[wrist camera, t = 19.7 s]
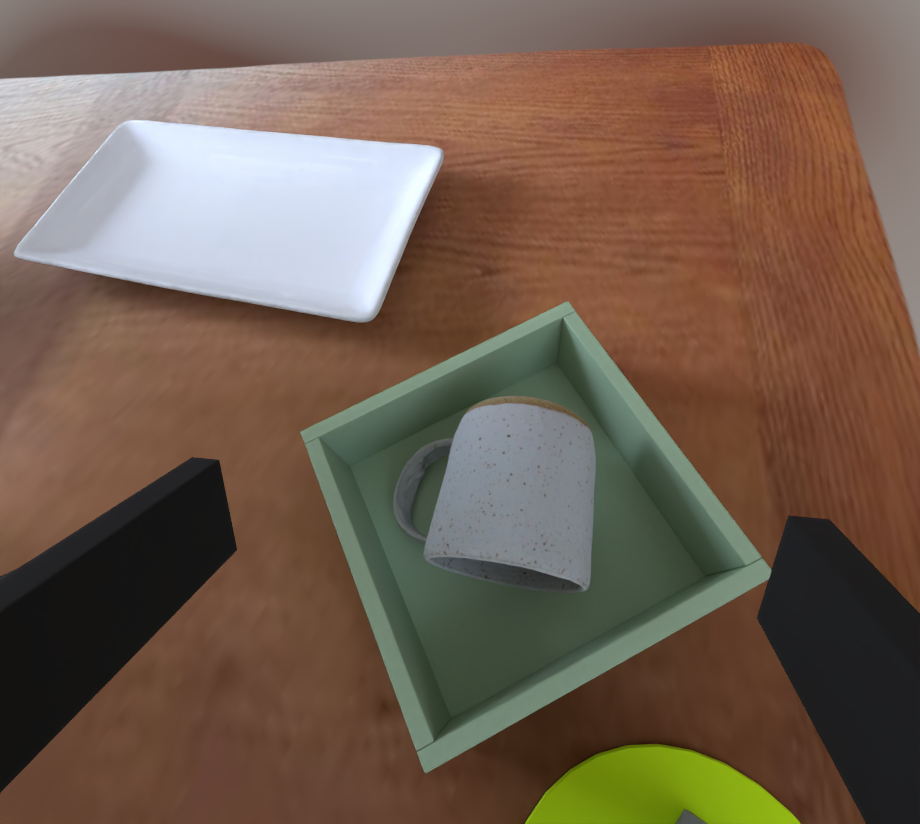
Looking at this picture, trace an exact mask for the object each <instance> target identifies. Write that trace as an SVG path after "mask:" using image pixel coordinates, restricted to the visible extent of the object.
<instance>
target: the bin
mask: <svg viewBox="0 0 920 824" xmlns="http://www.w3.org/2000/svg"><path fill="white" fill-rule="evenodd" d="M503 396H525V397H534V398H539V399H543V400H547V401H552V402H554V403H557V404H559V405H561V406H564V407H566V408H568V409H570V410H572V411H573V412H574V413H576V414H577V415H579V416H580V417H581V418H582V419H583V420H584V421H585V422H586V423H587V425H588V426H589V427H590V429H591V432H592V435H593V440H594V448H595V455H596V473H595V486H594V513H593V536H592V551H591V578H590V585H589V588H588V589H587V590H586V591H583V592H578V593H567V594H563V593H551V592H544V591H536V590H530V589H522V588H518V587H512V586H506V585H501V584H496V583H493V582H489V581H485V580H479V579H475V578H471V577H468V576H464V575H461V574H457V573H454V572H451V571H448V570H445V569H442V568H440V567H438V566H435V565H433V564H431V563H429V562H427V561H426V560H425V558H424V556H423V555H424V549H425V545H424V544H421V543H419V542H417V541H415V540H414V539H412V538H411V537H409V536H408V535H407V534H406V533H405V532H404V531H403V530H402V528H401V527H400V526H399V524H398V522H397V520H396V518H395V516H394V513H393V506H392V501H393V493H394V489H395V486H396V483H397V480H398V477H399V475H400V473H401V471H402V469H403V468H404V466H405V464H406V463H407V461H408V460H409V459H410V458H411V457H412V456H413V455H414V454H415V453H416V452H417V451H418V450H419V449H420V448H422V447H423V446H425V445H427V444H429V443H431V442H434V441H436V440H441V439H445V438H454V435H455V433H456V431H457V429H458V426H459V424H460V422H461V420H462V418H463V416H464V415H465V413H466V412H467V411H468V410H469V409H470V408H471V407H473V406H474V405H476V404H478V403H480V402H482V401H485V400H487V399H491V398H496V397H503ZM301 435H302V438H303V441H304V444H305V446H306V449H307V452H308V454H309V457H310V460H311V463H312V465H313V468H314V471H315V474H316V476H317V479H318V482H319V485H320V487H321V490H322V493H323V496H324V498H325V501H326V504H327V507H328V509H329V512H330V515H331V518H332V520H333V523H334V526H335V529H336V531H337V534H338V537H339V540H340V542H341V545H342V548H343V551H344V553H345V556H346V559H347V562H348V564H349V567H350V570H351V573H352V575H353V578H354V581H355V584H356V587H357V589H358V592H359V595H360V598H361V600H362V603H363V606H364V609H365V611H366V614H367V617H368V620H369V622H370V625H371V628H372V631H373V633H374V636H375V639H376V642H377V644H378V647H379V650H380V653H381V655H382V658H383V661H384V664H385V666H386V669H387V672H388V675H389V677H390V680H391V683H392V686H393V688H394V691H395V694H396V697H397V699H398V702H399V705H400V708H401V710H402V713H403V716H404V719H405V722H406V724H407V727H408V730H409V733H410V735H411V738H412V741H413V744H414V746H415V749H416V750H418V752H417V754H418V757H419V760H420V762H421V765H422V768H423V771H424V772H425V773H428V772H429V771H431V770H433V769H435V768H436V767H438V766H440V765H442V764H444V763H445V762H447V761H449V760H451V759H452V758H454V757H456V756H458V755H459V754H461V753H463V752H465V751H466V750H468V749H470V748H472V747H474V746H475V745H477V744H479V743H481V742H482V741H484V740H486V739H488V738H489V737H491V736H493V735H495V734H496V733H498V732H500V731H502V730H504V729H505V728H507V727H509V726H511V725H512V724H514V723H516V722H518V721H519V720H521V719H523V718H525V717H526V716H528V715H530V714H532V713H534V712H535V711H537V710H539V709H541V708H542V707H544V706H546V705H548V704H549V703H551V702H553V701H555V700H556V699H558V698H560V697H562V696H563V695H565V694H567V693H569V692H571V691H572V690H574V689H576V688H578V687H579V686H581V685H583V684H585V683H586V682H588V681H590V680H592V679H593V678H595V677H597V676H599V675H601V674H602V673H604V672H606V671H608V670H609V669H611V668H613V667H615V666H616V665H618V664H620V663H622V662H623V661H625V660H627V659H629V658H631V657H632V656H634V655H636V654H638V653H639V652H641V651H643V650H645V649H646V648H648V647H650V646H652V645H653V644H655V643H657V642H659V641H661V640H662V639H664V638H666V637H668V636H669V635H671V634H673V633H675V632H676V631H678V630H680V629H682V628H683V627H685V626H687V625H689V624H691V623H692V622H694V621H696V620H698V619H699V618H701V617H703V616H705V615H706V614H708V613H710V612H712V611H713V610H715V609H717V608H719V607H721V606H722V605H724V604H726V603H728V602H729V601H731V600H733V599H735V598H736V597H738V596H740V595H742V594H743V593H745V592H747V591H749V590H751V589H752V588H754V587H756V586H758V585H759V584H761V583H763V582H765V581H766V580H768V579H769V577H770V574H771V571H772V570H771V568H770V567H769V566H768V564H767V563H766V562H765V560H764V559H762V558H761V555H760V554H759V552H758V551H757V550H756V548H755V547H754V546H753V544H752V543H751V542H750V541H749V539H748V538H747V537H746V535H745V534H744V533H743V531H742V530H741V529H740V527H739V526H738V525H737V523H736V522H735V521H734V519H733V518H732V517H731V516H730V514H729V513H728V512H727V510H726V509H725V508H724V506H723V505H722V504H721V502H720V501H719V500H718V498H717V497H716V496H715V494H714V493H713V492H712V491H711V489H710V488H709V487H708V485H707V484H706V483H705V481H704V480H703V479H702V477H701V476H700V475H699V473H698V472H697V471H696V469H695V468H694V467H693V466H692V464H691V463H690V462H689V460H688V459H687V458H686V456H685V455H684V454H683V452H682V451H681V450H680V448H679V447H678V446H677V444H676V443H675V442H674V441H673V439H672V438H671V437H670V435H669V434H668V433H667V431H666V430H665V429H664V427H663V426H662V425H661V423H660V422H659V421H658V419H657V418H656V417H655V416H654V414H653V413H652V412H651V410H650V409H649V408H648V406H647V405H646V404H645V402H644V401H643V400H642V398H641V397H640V396H639V394H638V393H637V392H636V391H635V389H634V388H633V387H632V385H631V384H630V383H629V381H628V380H627V379H626V377H625V376H624V375H623V373H622V372H621V371H620V369H619V368H618V367H617V366H616V364H615V363H614V362H613V360H612V359H611V358H610V356H609V355H608V354H607V352H606V351H605V350H604V348H603V347H602V346H601V344H600V343H599V342H598V341H597V339H596V338H595V337H594V335H593V334H592V333H591V331H590V330H589V329H588V327H587V326H586V325H585V323H584V322H583V321H582V319H581V318H580V317H579V316H578V314H577V313H576V312H575V310H574V309H573V307H572V306H571V305H570V303H569V302H568V301H567V302H565V303H563V304H561V305H559V306H557V307H554V308H552V309H550V310H548V311H546V312H544V313H542V314H540V315H538V316H536V317H534V318H532V319H530V320H528V321H526V322H524V323H522V324H520V325H518V326H516V327H514V328H511V329H509V330H507V331H505V332H503V333H501V334H499V335H497V336H495V337H493V338H491V339H489V340H487V341H485V342H483V343H481V344H479V345H477V346H475V347H473V348H470V349H468V350H466V351H464V352H462V353H460V354H458V355H456V356H454V357H452V358H450V359H448V360H446V361H444V362H442V363H440V364H438V365H436V366H434V367H432V368H430V369H427V370H425V371H423V372H421V373H419V374H417V375H415V376H413V377H411V378H409V379H407V380H405V381H403V382H401V383H399V384H397V385H395V386H393V387H391V388H389V389H386V390H384V391H382V392H380V393H378V394H376V395H374V396H372V397H370V398H368V399H366V400H364V401H362V402H360V403H358V404H356V405H354V406H352V407H350V408H348V409H345V410H343V411H341V412H339V413H337V414H335V415H333V416H331V417H329V418H327V419H325V420H323V421H321V422H319V423H317V424H315V425H313V426H311V427H309V428H307V429H305V430H302V431H301ZM448 459H449V455H448V456H445V457H442V458H440V459H438V460H437V461H435V462H434V463H432V464H431V465H430V466H429V467H428V468H427V469H426V470H425V475H424V477H423V479H422V480H421V482H420V485H419V488H418V490H417V493H416V496H415V499H414V502H413V507H412V520H413V523H414V525H415V527H416V528H417V529H418V530H419V532H421V533H422V534H423V535H424V536H426V537H427V536H428V533H429V529H430V525H431V522H432V518H433V515H434V511H435V507H436V504H437V500H438V497H439V493H440V490H441V486H442V483H443V480H444V476H445V472H446V468H447V464H448Z"/></svg>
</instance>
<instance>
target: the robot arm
mask: <svg viewBox="0 0 920 824" xmlns="http://www.w3.org/2000/svg"><path fill="white" fill-rule="evenodd" d="M236 550H237V547H236V542H235V537H234V532H233V527H232V522H231V517H230V512H229V507H228V502H227V497H226V492H225V487H224V482H223V477H222V472H221V467H220V462H219V460H215V459H204V458H194V457H192V458H190V459H189V460H187V461H186V462H184V463H182V464H181V465H179V466H178V467H176V468H175V469H173V470H171V471H170V472H168V473H167V474H165V475H164V476H162V477H160V478H159V479H157V480H156V481H154V482H153V483H151V484H150V485H148V486H146V487H145V488H143V489H142V490H140V491H139V492H137V493H135V494H134V495H132V496H131V497H129V498H128V499H126V500H124V501H123V502H121V503H120V504H118V505H117V506H115V507H113V508H112V509H110V510H109V511H107V512H106V513H104V514H103V515H101V516H99V517H98V518H96V519H95V520H93V521H92V522H90V523H88V524H87V525H85V526H84V527H82V528H81V529H79V530H77V531H76V532H74V533H73V534H71V535H70V536H68V537H66V538H65V539H63V540H62V541H60V542H59V543H57V544H56V545H54V546H52V547H51V548H49V549H48V550H46V551H45V552H43V553H41V554H40V555H38V556H37V557H35V558H34V559H32V560H30V561H29V562H27V563H26V564H24V565H23V566H21V567H19V568H18V569H16V570H14V571H11V572H9V573H7V574H5V575H3V576H0V792H1V791H2V790H3V789H4V788H5V787H6V786H7V785H8V784H9V783H10V782H11V781H12V780H13V779H14V778H15V777H16V776H17V775H18V774H19V773H20V772H21V771H22V770H23V769H24V768H25V767H26V766H27V765H28V764H29V763H30V762H31V761H32V760H33V759H34V758H35V757H36V756H37V755H38V754H39V752H40V751H41V750H42V749H43V748H44V747H45V746H46V745H47V744H48V743H49V742H50V741H51V740H52V739H53V738H54V737H55V736H56V735H57V734H58V733H59V732H60V731H61V730H62V729H63V728H64V727H65V726H66V725H67V724H68V723H69V722H70V721H71V720H72V719H73V718H74V717H75V716H76V715H77V714H78V712H79V711H80V710H81V709H82V708H83V707H84V706H85V705H86V704H87V703H88V702H89V701H90V700H91V699H92V698H93V697H94V696H95V695H96V694H97V693H98V692H99V691H100V690H101V689H102V688H103V687H104V686H105V685H106V684H107V683H108V682H109V681H110V680H111V679H112V678H113V677H114V676H115V675H116V674H117V673H118V671H119V670H120V669H121V668H122V667H123V666H124V665H125V664H126V663H127V662H128V661H129V660H130V659H131V658H132V657H133V656H134V655H135V654H136V653H137V652H138V651H139V650H140V649H141V648H142V647H143V646H144V645H145V644H146V643H147V642H148V641H149V640H150V639H151V638H152V637H153V636H154V635H155V634H156V633H157V631H158V630H159V629H160V628H161V627H162V626H163V625H164V624H165V623H166V622H167V621H168V620H169V619H170V618H171V617H172V616H173V615H174V614H175V613H176V612H177V611H178V610H179V609H180V608H181V607H182V606H183V605H184V604H185V603H186V602H187V601H188V600H189V599H190V598H191V597H192V596H193V595H194V594H195V593H196V591H197V590H198V589H199V588H200V587H201V586H202V585H203V584H204V583H205V582H206V581H207V580H208V579H209V578H210V577H211V576H212V575H213V574H214V573H215V572H216V571H217V570H218V569H219V568H220V567H221V566H222V565H223V564H224V563H225V562H226V561H227V560H228V559H229V558H230V557H231V556H232V555H233V554H234V553H235V551H236ZM757 619H758V621H759V623H760V625H761V626H762V628H763V630H764V632H765V634H766V636H767V638H768V640H769V642H770V643H771V645H772V647H773V649H774V651H775V653H776V655H777V657H778V658H779V660H780V662H781V664H782V666H783V668H784V670H785V672H786V674H787V675H788V677H789V679H790V681H791V683H792V685H793V687H794V689H795V690H796V692H797V694H798V696H799V698H800V700H801V702H802V704H803V706H804V707H805V709H806V711H807V713H808V715H809V717H810V719H811V721H812V722H813V724H814V726H815V728H816V730H817V732H818V734H819V736H820V738H821V739H822V741H823V743H824V745H825V747H826V749H827V751H828V753H829V755H830V756H831V758H832V760H833V762H834V764H835V766H836V768H837V770H838V771H839V773H840V775H841V777H842V779H843V781H844V783H845V785H846V787H847V788H848V790H849V792H850V794H851V796H852V798H853V800H854V802H855V803H856V805H857V807H858V809H859V811H860V813H861V815H862V817H863V819H864V820H865V822H866V824H920V613H919V612H918V611H917V610H916V609H915V608H914V607H913V606H912V605H911V604H910V603H909V602H908V601H907V600H906V599H905V598H904V597H903V596H902V595H901V594H900V593H899V592H898V590H897V589H896V588H895V587H894V586H893V585H892V584H891V583H890V582H889V581H888V580H887V579H886V578H885V577H884V576H883V575H882V574H881V573H880V572H879V571H878V570H877V569H876V568H875V567H874V565H873V564H872V563H871V562H870V561H869V560H868V559H867V558H866V557H865V556H864V555H863V554H862V553H861V552H860V551H859V550H858V549H857V548H856V547H855V546H854V545H853V544H852V543H851V542H850V540H849V539H848V538H847V537H846V536H845V535H844V534H843V533H842V532H841V531H840V530H839V529H838V528H837V527H836V526H835V525H834V524H833V523H832V522H831V521H830V520H828V519H818V518H808V517H797V516H788V519H787V522H786V526H785V529H784V532H783V535H782V539H781V542H780V545H779V548H778V552H777V555H776V558H775V561H774V564H773V568H772V571H771V574H770V577H769V581H768V584H767V587H766V590H765V594H764V597H763V600H762V603H761V607H760V610H759V613H758V616H757Z"/></svg>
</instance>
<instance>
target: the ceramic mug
mask: <svg viewBox="0 0 920 824" xmlns="http://www.w3.org/2000/svg"><path fill="white" fill-rule="evenodd" d="M448 455H449V459H448V464H447V468H446V472H445V476H444V480H443V483H442V486H441V490H440V493H439V497H438V500H437V504H436V507H435V511H434V515H433V518H432V522H431V525H430V529H429V533H428V536H427V537H426V536H424V535H423V534H422V533H421V532H419V530H418V529H417V528H416V527H415V525H414V523H413V520H412V507H413V502H414V499H415V496H416V493H417V490H418V488H419V485H420V482H421V480H422V479H423V477H424V475H425V470H426V469H427V468H428V467H429V466H430V465H431V464H432V463H434V462H435V461H437V460H438V459H440V458H442V457H445V456H448ZM595 473H596V455H595V448H594V440H593V435H592V432H591V429H590V427H589V426H588V425H587V423H586V422H585V421H584V420H583V419H582V418H581V417H580V416H579V415H577V414H576V413H574V412H573V411H572V410H570V409H568V408H566V407H564V406H561V405H559V404H557V403H554V402H552V401H547V400H543V399H539V398H534V397H525V396H503V397H496V398H491V399H487V400H485V401H482V402H480V403H478V404H476V405H474V406H473V407H471V408H470V409H469V410H468V411H467V412H466V413H465V415H464V416H463V418H462V420H461V422H460V424H459V426H458V429H457V431H456V433H455V435H454V438H445V439H441V440H436V441H434V442H431V443H429V444H427V445H425V446H423V447H422V448H420V449H419V450H418V451H417V452H416V453H415V454H414V455H413V456H412V457H411V458H410V459H409V460H408V461H407V463H406V464H405V466H404V468H403V469H402V471H401V473H400V475H399V477H398V480H397V483H396V486H395V489H394V493H393V501H392V506H393V513H394V516H395V518H396V520H397V522H398V524H399V526H400V527H401V528H402V530H403V531H404V532H405V533H406V534H407V535H408V536H409V537H411V538H412V539H414V540H415V541H417V542H419V543H421V544H424V545H425V549H424V555H423V556H424V558H425V560H426V561H427V562H429V563H431V564H433V565H435V566H438V567H440V568H442V569H445V570H448V571H451V572H454V573H457V574H461V575H464V576H468V577H471V578H475V579H479V580H485V581H489V582H493V583H496V584H501V585H506V586H512V587H518V588H522V589H530V590H536V591H544V592H551V593H563V594H567V593H578V592H583V591H586V590H587V589H588V588H589V585H590V578H591V551H592V536H593V513H594V486H595Z"/></svg>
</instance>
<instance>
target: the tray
mask: <svg viewBox="0 0 920 824" xmlns="http://www.w3.org/2000/svg"><path fill="white" fill-rule="evenodd" d="M443 159H444V152H443V150H442V149H440V148H438V147H435V146H427V145H417V144H405V143H391V142H378V141H366V140H355V139H344V138H334V137H322V136H310V135H299V134H287V133H276V132H265V131H253V130H243V129H233V128H222V127H212V126H201V125H191V124H180V123H168V122H158V121H147V120H129V121H126V122H124V123H122V124H121V125H120V126H118V127H117V128H116V129H115V130H114V131H113V133H112V134H111V135H110V136H109V137H108V138H107V139H106V141H105V142H104V143H103V144H102V145H101V147H100V148H99V149H98V150H97V151H96V153H95V154H94V155H93V156H92V157H91V159H90V160H89V161H88V162H87V163H86V164H85V166H84V167H83V168H82V169H81V170H80V172H79V173H78V174H77V175H76V176H75V177H74V179H73V180H72V181H71V182H70V183H69V184H68V186H67V187H66V188H65V189H64V190H63V192H62V193H61V194H60V195H59V196H58V198H57V199H56V200H55V201H54V202H53V204H52V205H51V206H50V207H49V209H48V210H47V211H46V212H45V213H44V214H43V216H42V217H41V218H40V219H39V220H38V221H37V223H36V224H35V225H34V226H33V227H32V229H31V230H30V231H29V232H28V233H27V234H26V236H25V237H24V238H23V239H22V240H21V242H20V243H19V244H18V245H17V247H16V248H15V250H14V256H15V257H17V258H19V259H22V260H27V261H32V262H36V263H41V264H46V265H52V266H57V267H62V268H67V269H72V270H77V271H82V272H87V273H92V274H97V275H102V276H107V277H112V278H117V279H122V280H127V281H132V282H137V283H142V284H147V285H152V286H157V287H162V288H167V289H173V290H178V291H183V292H189V293H194V294H200V295H206V296H212V297H217V298H223V299H229V300H235V301H240V302H246V303H252V304H257V305H263V306H268V307H274V308H279V309H285V310H291V311H296V312H302V313H307V314H313V315H318V316H323V317H329V318H334V319H340V320H346V321H351V322H358V323H364V322H369V321H371V320H373V319H374V318H375V317H376V316H377V314H378V312H379V311H380V309H381V306H382V304H383V302H384V299H385V297H386V294H387V292H388V289H389V287H390V284H391V282H392V279H393V277H394V274H395V272H396V269H397V267H398V264H399V262H400V260H401V257H402V255H403V252H404V250H405V247H406V245H407V242H408V240H409V237H410V235H411V232H412V230H413V228H414V225H415V223H416V221H417V219H418V216H419V214H420V212H421V209H422V207H423V205H424V203H425V200H426V198H427V196H428V194H429V192H430V189H431V187H432V185H433V183H434V181H435V178H436V176H437V174H438V172H439V170H440V167H441V165H442V162H443Z"/></svg>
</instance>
